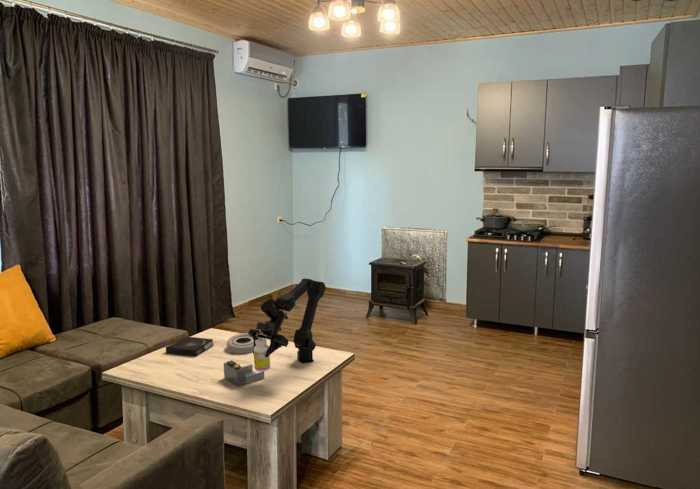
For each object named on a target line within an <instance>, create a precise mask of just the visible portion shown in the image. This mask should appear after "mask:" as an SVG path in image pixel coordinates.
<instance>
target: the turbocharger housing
mask: <svg viewBox="0 0 700 489" xmlns="http://www.w3.org/2000/svg"><path fill="white" fill-rule="evenodd" d="M253 345H254V340H253V338H252V337H251V336H250V335H249V334H248V332H242V333H238V334H237V333H236V334H235V335H232V336H231V337H229V338H228V339H227V342H226V347H227V352H229V353H230V354H233V355H234V354H235V355H245V354H249V353H253Z"/></svg>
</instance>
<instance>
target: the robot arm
mask: <svg viewBox="0 0 700 489" xmlns="http://www.w3.org/2000/svg"><path fill="white" fill-rule="evenodd" d="M326 289H327V286H326V285H325V282H324V281H318V280H314V279H310V278H302V279H301V281H299V283H298V284H296V286H294V288H292V290H290V291H289V292H288V293H286V294H282V295H280V296H279V297H277V298H276V300H274V298H268V300H265V301H264V302H262V303H261V305H260V310H261V311H262V312H263V313H264V314H265V316H266V317H268V318H269V320H267V321H265V322H259V321H258V322H257V324H256V328H255V329H254V328H250V329H249V330H248V332H247V333H248V334H249V335H250V336H251V337H252V338H253V340H254V345H253V351H252V355H254V347H255V346H256V344H255V341H256V340H258V339H266V340H267V341H268V340H269V342H270V343H269V344H270V345H268V346H269V348H268V350H267V352H266V355H265V357H268V356H269V355H270V356H271V355H272V354H273V353H274V352H275V351H277V350H278V349H280V348H282V347H288V346H289V340H288V338H287V337H285V336H284V335H283V334H279V332H281V331H282V328H281V327H282V325H283V323H284V320H288V318H289V316H288V313H287V312H291V311H292V310H293V308H294V307H295V306H296V301H297V300H298V299H300V298H301V297H302V296H303V295H304V294H305V293H307V297H308V298H307V302H306V307H305V310H304V314H303V318H302V322H301V325H300V327H299V328H298V329H295V331H294V335H293V343H294V347H295V348H296V349H298V350H297V351H296V354H297V355H296V357H297V361H298V362H299V363H300V364H306V363H307V364H308V363H313V362H315V360H314V358H313V356H314V355H313V354H314V353H313V351H315V349H316V343H315V342H314V340H313V332H312V328H313V323H314V320H315V315H316V312H317V309H318V308H317V307H318V305H319V301H320V299H322V297H323V296H324V294H325V291H326Z"/></svg>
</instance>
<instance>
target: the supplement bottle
mask: <svg viewBox="0 0 700 489" xmlns="http://www.w3.org/2000/svg"><path fill="white" fill-rule="evenodd" d="M255 344H256V346H255V347H254V354H253V362H254V369H255V371H256V372H258V373H259V372H263V371H264V372H266V371H269V370H270V369H271V357H270V356H271V354H270V355H269V356H268V357H265V355H266V352H267V350H268V348H269V346H270V345H268V344H267V339H264V338H262V339H258V340H256V341H255Z"/></svg>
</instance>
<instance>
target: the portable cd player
mask: <svg viewBox="0 0 700 489" xmlns="http://www.w3.org/2000/svg"><path fill="white" fill-rule="evenodd" d="M214 345H215V344H214V340H213V338H203V337H195V336H182V337H181V338H178V339H177V340H175V341H174V342H172V343H169V344H168V345H167V346H165V354H168V355H175V356H183V357H192V358H196V357H198V356H200V355H201V354H203V353H205V351H208V350H209V349H211V348H213V347H214Z"/></svg>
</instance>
